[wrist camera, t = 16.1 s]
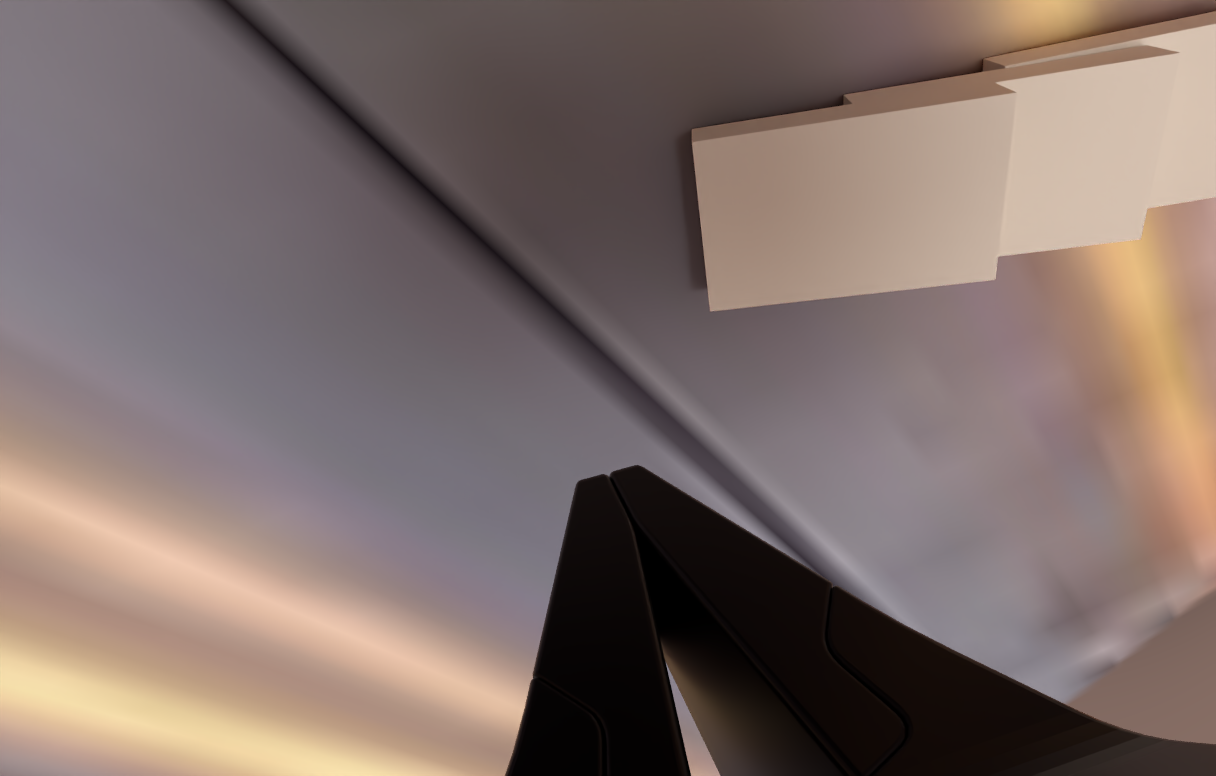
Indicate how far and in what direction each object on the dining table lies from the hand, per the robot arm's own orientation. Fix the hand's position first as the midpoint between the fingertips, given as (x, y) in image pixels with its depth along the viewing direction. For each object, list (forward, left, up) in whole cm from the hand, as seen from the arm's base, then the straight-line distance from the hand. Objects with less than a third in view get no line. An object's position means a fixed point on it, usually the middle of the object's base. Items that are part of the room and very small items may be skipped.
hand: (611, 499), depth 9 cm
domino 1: (+1, +6, -12) cm, 13 cm away
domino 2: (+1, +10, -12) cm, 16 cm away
